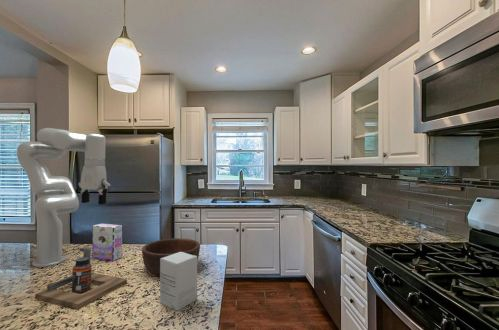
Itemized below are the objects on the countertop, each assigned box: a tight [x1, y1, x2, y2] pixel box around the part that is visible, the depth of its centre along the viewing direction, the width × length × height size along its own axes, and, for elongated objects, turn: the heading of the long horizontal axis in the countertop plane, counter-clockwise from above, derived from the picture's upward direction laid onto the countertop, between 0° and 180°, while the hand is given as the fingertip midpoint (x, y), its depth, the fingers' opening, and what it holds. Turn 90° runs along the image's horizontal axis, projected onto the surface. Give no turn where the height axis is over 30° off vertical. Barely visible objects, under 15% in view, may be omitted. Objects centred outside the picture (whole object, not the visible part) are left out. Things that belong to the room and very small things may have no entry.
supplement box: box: [159, 252, 198, 311], centre depth 87 cm, size 9×9×15 cm
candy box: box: [91, 223, 123, 262], centre depth 129 cm, size 14×6×16 cm, turn 71°
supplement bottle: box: [71, 256, 92, 294], centre depth 95 cm, size 6×6×11 cm
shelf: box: [34, 247, 128, 310], centre depth 95 cm, size 22×20×12 cm
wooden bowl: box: [141, 237, 201, 277], centre depth 116 cm, size 25×25×10 cm
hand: (93, 203), depth 110 cm, fingers open, 9 cm apart
